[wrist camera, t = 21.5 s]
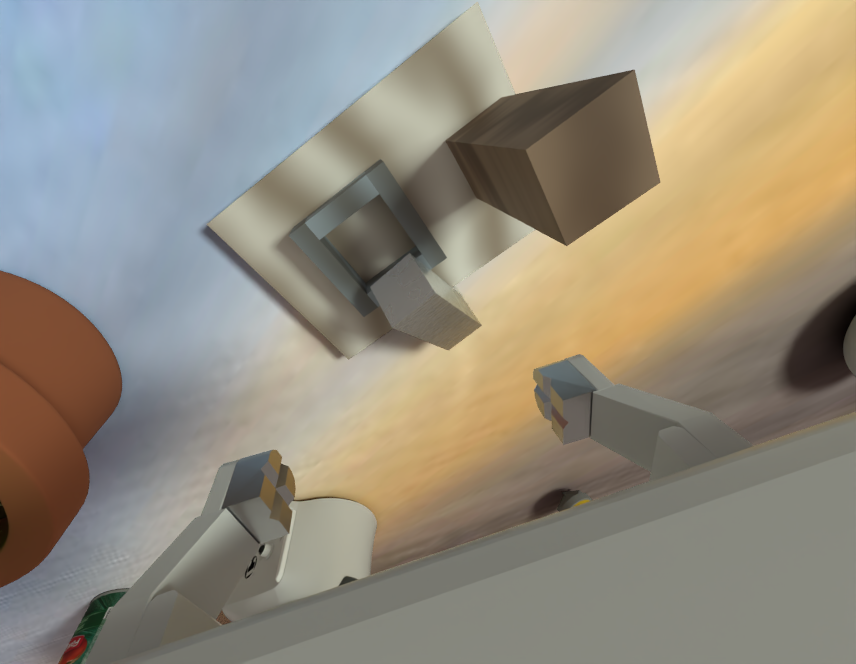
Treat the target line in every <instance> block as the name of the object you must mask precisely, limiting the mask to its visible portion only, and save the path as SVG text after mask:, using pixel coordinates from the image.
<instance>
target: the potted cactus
mask: <svg viewBox="0 0 856 664" xmlns="http://www.w3.org/2000/svg"><path fill="white" fill-rule="evenodd" d="M121 392H122V378H121V372H120V368H119V365H118V362H117V359H116V357H115V355H114V353H113V351H112V349H111V348H110V346H109V344H108V343H107V341H106V340H105V338H104V337H103V336H102V334H101V333H100V332H99V331H98V329H97V328H96V327H95V326H94V325H93V324H92V323H91V322H90V321H89V320H88V319H87V318H86V317H85V316H84V315H83V314H82V313H81V312H80V311H78V310H77V309H76V308H75V307H74V306H72V305H71V304H70V303H68V302H67V301H65V300H64V299H63V298H61V297H59V296H58V295H56V294H55V293H53V292H51V291H50V290H48V289H46V288H44V287H42V286H40V285H38V284H36V283H33V282H31V281H29V280H27V279H24V278H21V277H19V276H16V275H13V274H10V273H6V272H3V271H0V588H1V587H3V586H5V585H7V584H9V583H11V582H13V581H15V580H17V579H19V578H21V577H22V576H24V575H26V574H27V573H29V572H30V571H31V570H33V569H34V568H35V567H37V566H38V565H39V564H40V563H41V562H42V561H43V560H44V559H45V558H46V557H47V556H48V554H49V553H50V552H51V550H52V549H53V547H54V546H55V545H56V543H57V542H58V540H59V539H60V537H61V536H62V535H63V533H64V532H65V530H66V529H67V527H68V526H69V525H70V523H71V522H72V520H73V519H74V517H75V516H76V515H77V513H78V512H79V510H80V508H81V507H82V505H83V504H84V502H85V499H86V496H87V494H88V489H89V483H90V482H89V469H88V464H87V460H86V457H85V455H84V452H83V448H84V447H85V446H86V445H87V443H88V442H89V441H90V440H91V439H92V437H93V436H94V435H95V434H96V433H97V431H98V430H99V429H100V428H101V427H102V425H103V424H104V423H105V422H106V420H107V419H108V418H109V417H110V416H111V414H112V413H113V412H114V410H115V408H116V407H117V405H118V403H119V400H120V397H121Z"/></svg>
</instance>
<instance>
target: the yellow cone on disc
mask: <svg viewBox="0 0 856 664" xmlns="http://www.w3.org/2000/svg"><path fill="white" fill-rule="evenodd" d="M562 493H563V494H564V496H563V498H562V500H561V502H560V504H559V506H558V508H557V510H558V511H559V512H560V511H563V510H566V509H569V508H571V507H574V506H577V505H580V504H583V503H586V502H589V501H592V499H591V498H590V497H589V496H588V495H587V494H586V493H582V492H581V491H580V490H577V491H567V492H562Z"/></svg>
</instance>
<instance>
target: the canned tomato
mask: <svg viewBox="0 0 856 664" xmlns="http://www.w3.org/2000/svg"><path fill="white" fill-rule="evenodd" d="M128 590H129V589H116V590H111V591H108V592H104V593H102V594H100V595H98V596H97V597H95V598H94V599H93V600H92V601H91V603H90V606H89V608H88V610H87V612H86V613H85V615H84V617H83V619H82V621H81V623H80V624H79V626H78V628H77V630H76V632H75V633H74V635H73V637H72V639H71V641H70V643H69V645H68V647H67V648H66V650H65V652H64V654H63V656H62V657H61V659H60V661H59V663H58V664H85V662H86V660H87V658H88V656H89V654H90V652H91V650H92V648H93V646H94V644H95V642H96V640H97V638H98V636H99V634H100V632H101V630H102V628H103V625H104V623H105V621H106V619H107V617H108V615H109V613H110V611H111V609H112V608H113V607H114V606H115V604H116V603H117V602H118V601H119V600H120V599H121V598H122V597H123V596H124V595H125V594H126V593H127V591H128Z"/></svg>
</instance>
